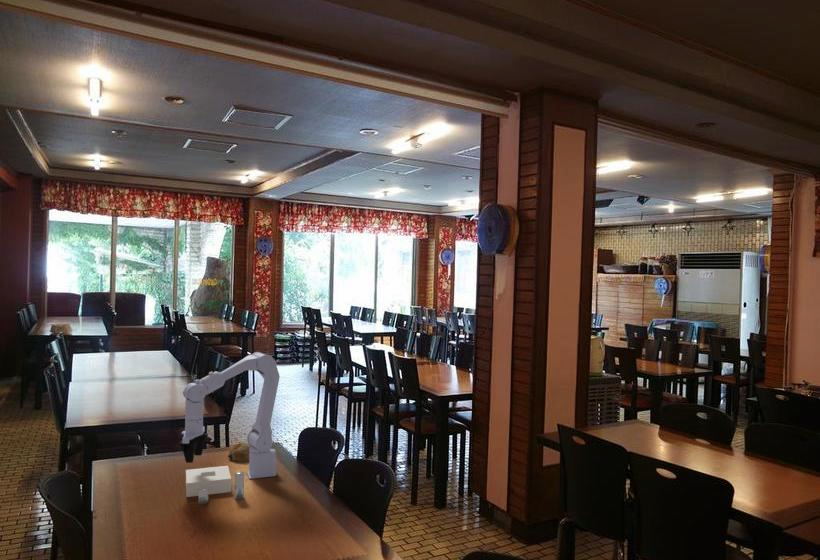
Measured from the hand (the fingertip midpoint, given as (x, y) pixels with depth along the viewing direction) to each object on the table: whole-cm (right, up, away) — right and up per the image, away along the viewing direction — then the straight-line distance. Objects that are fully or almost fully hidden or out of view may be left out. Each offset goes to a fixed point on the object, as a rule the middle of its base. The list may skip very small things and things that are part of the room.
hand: (193, 458), depth 199 cm
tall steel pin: (+18, -10, -8) cm, 22 cm away
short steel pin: (+8, -10, -12) cm, 18 cm away
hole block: (+5, -10, 0) cm, 11 cm away
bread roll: (+7, -10, +32) cm, 35 cm away
